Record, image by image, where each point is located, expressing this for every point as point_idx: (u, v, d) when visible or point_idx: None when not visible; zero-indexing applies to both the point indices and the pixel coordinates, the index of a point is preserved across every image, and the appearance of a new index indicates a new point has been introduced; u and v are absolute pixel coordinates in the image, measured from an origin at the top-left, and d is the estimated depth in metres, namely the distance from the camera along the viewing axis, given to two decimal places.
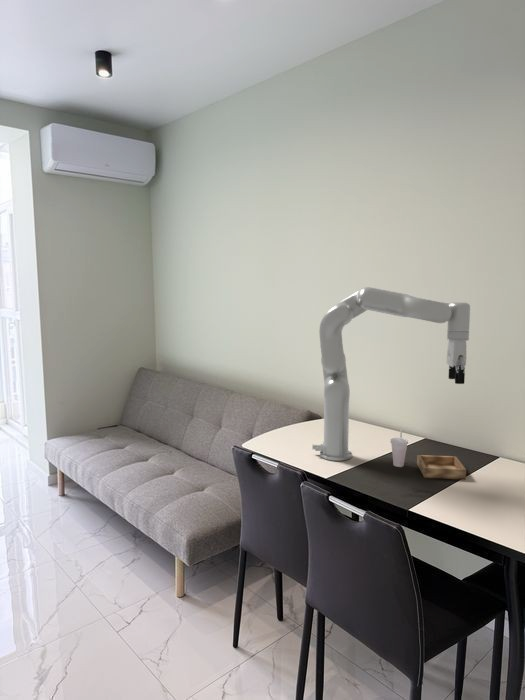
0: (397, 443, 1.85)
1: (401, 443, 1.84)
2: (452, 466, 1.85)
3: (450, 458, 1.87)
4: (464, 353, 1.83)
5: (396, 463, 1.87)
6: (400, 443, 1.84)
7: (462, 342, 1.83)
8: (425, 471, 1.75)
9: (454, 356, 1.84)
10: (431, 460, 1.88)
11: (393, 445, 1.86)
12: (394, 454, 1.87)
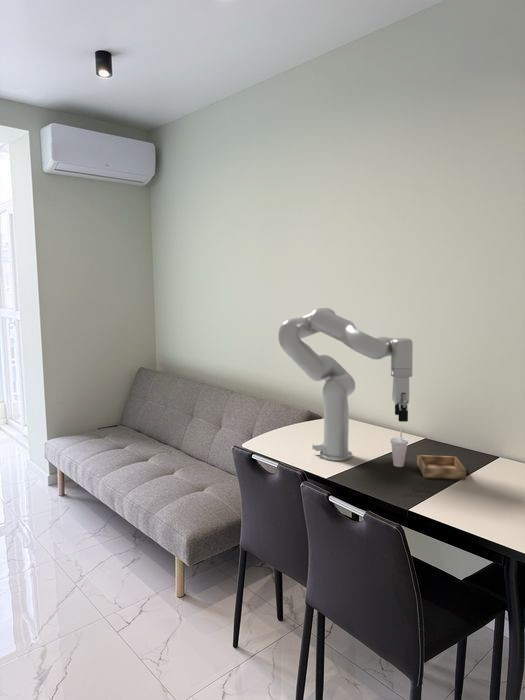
0: (397, 443, 1.85)
1: (401, 443, 1.84)
2: (452, 466, 1.85)
3: (450, 458, 1.87)
4: (407, 390, 1.80)
5: (396, 463, 1.87)
6: (400, 443, 1.84)
7: (405, 379, 1.80)
8: (425, 471, 1.75)
9: (397, 393, 1.80)
10: (431, 460, 1.88)
11: (393, 445, 1.86)
12: (394, 454, 1.87)
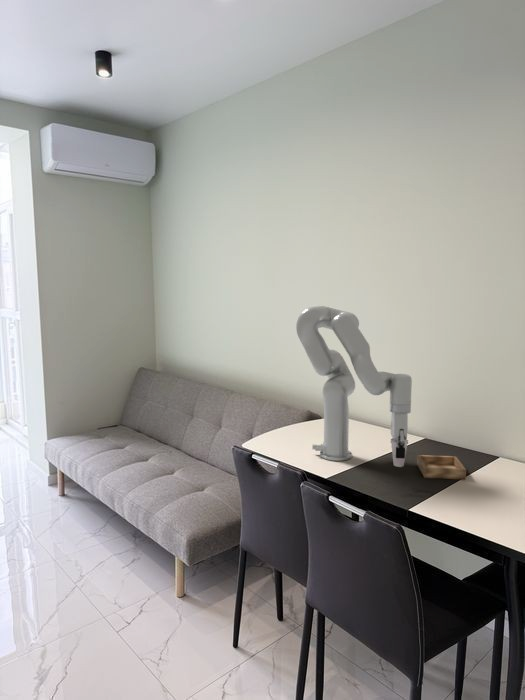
0: None
1: None
2: (452, 466, 1.85)
3: (450, 458, 1.87)
4: (405, 427, 1.82)
5: (396, 463, 1.87)
6: None
7: (403, 416, 1.82)
8: (425, 471, 1.75)
9: (395, 429, 1.82)
10: (431, 460, 1.88)
11: (393, 445, 1.86)
12: (394, 454, 1.87)
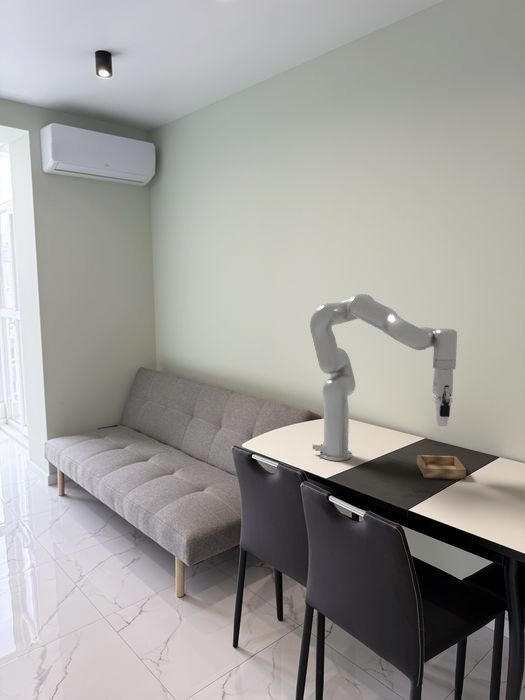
0: None
1: None
2: (452, 466, 1.85)
3: (450, 458, 1.87)
4: (450, 383, 1.73)
5: (439, 422, 1.78)
6: None
7: (449, 371, 1.73)
8: (425, 471, 1.75)
9: (440, 386, 1.73)
10: (431, 460, 1.88)
11: (437, 403, 1.77)
12: (438, 413, 1.78)
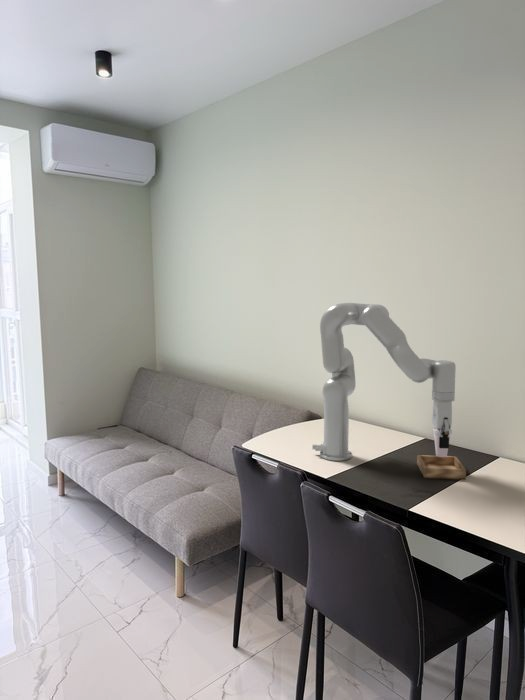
0: None
1: None
2: (452, 466, 1.85)
3: (450, 458, 1.87)
4: (449, 415, 1.74)
5: (439, 454, 1.79)
6: None
7: (448, 404, 1.74)
8: (425, 471, 1.75)
9: (439, 418, 1.75)
10: (431, 460, 1.88)
11: (436, 435, 1.79)
12: (437, 444, 1.79)
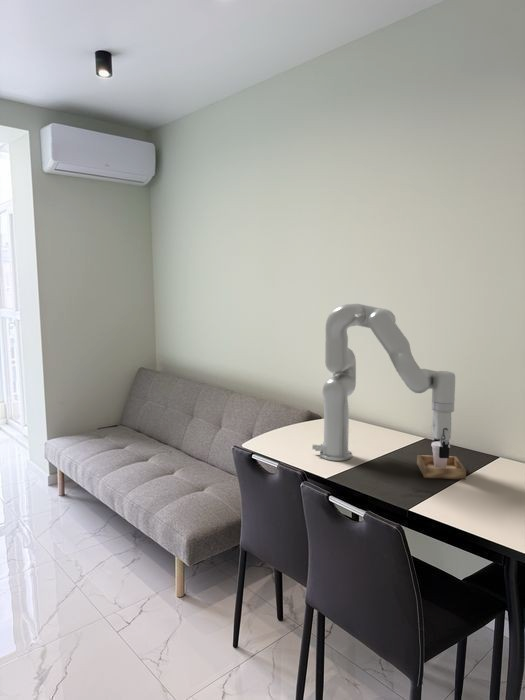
0: None
1: None
2: (452, 466, 1.85)
3: (450, 458, 1.87)
4: (449, 426, 1.75)
5: None
6: None
7: (447, 414, 1.75)
8: (425, 471, 1.75)
9: (438, 429, 1.75)
10: (431, 460, 1.88)
11: (435, 449, 1.79)
12: (436, 458, 1.80)
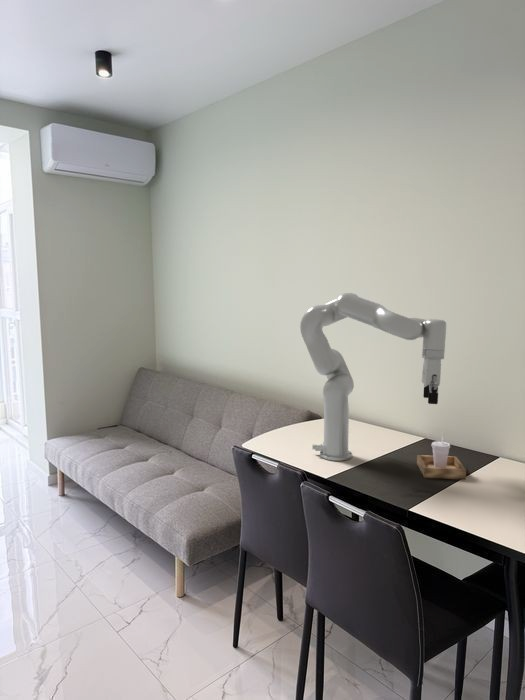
0: (439, 447, 1.78)
1: (443, 447, 1.78)
2: (452, 466, 1.85)
3: (450, 458, 1.87)
4: (438, 372, 1.77)
5: None
6: (442, 447, 1.78)
7: (437, 361, 1.77)
8: (425, 471, 1.75)
9: (428, 375, 1.77)
10: (431, 460, 1.88)
11: (435, 449, 1.79)
12: (436, 458, 1.80)
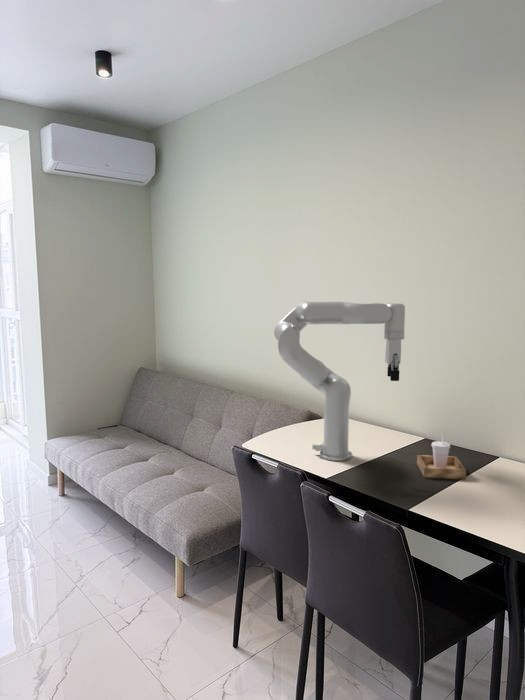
0: (439, 447, 1.78)
1: (443, 447, 1.78)
2: (452, 466, 1.85)
3: (450, 458, 1.87)
4: (398, 351, 1.92)
5: None
6: (442, 447, 1.78)
7: (397, 341, 1.92)
8: (425, 471, 1.75)
9: (389, 354, 1.93)
10: (431, 460, 1.88)
11: (435, 449, 1.79)
12: (436, 458, 1.80)
